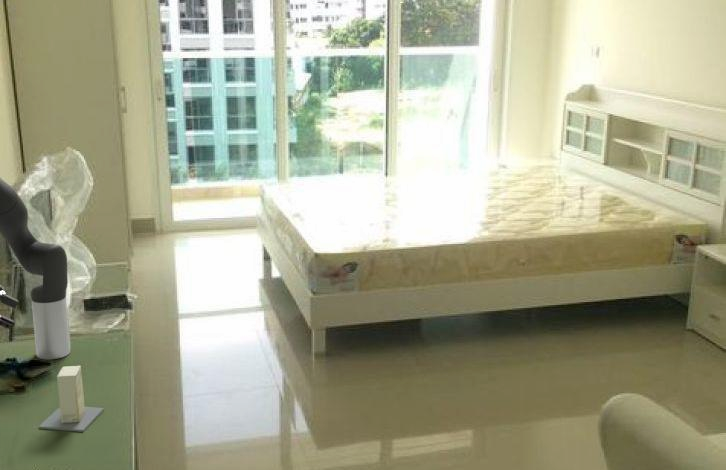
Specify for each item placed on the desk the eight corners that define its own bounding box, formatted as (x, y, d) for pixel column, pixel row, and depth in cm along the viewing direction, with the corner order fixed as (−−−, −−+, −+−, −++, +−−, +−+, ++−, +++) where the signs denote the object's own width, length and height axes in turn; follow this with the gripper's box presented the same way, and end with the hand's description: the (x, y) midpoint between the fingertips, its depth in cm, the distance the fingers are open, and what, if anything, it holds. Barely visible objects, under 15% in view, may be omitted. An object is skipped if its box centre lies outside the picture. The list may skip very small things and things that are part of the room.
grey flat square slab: (62, 406, 188) (61, 404, 188) (104, 409, 187) (103, 408, 187) (38, 428, 177) (38, 426, 177) (83, 431, 176) (83, 429, 176)
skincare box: (79, 422, 179) (76, 376, 176) (60, 423, 178) (56, 376, 175) (85, 410, 185) (81, 364, 182) (66, 411, 185) (62, 365, 182)
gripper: (-47, 291, 168) (21, 322, 177) (-37, 257, 179) (26, 287, 188) (-65, 314, 170) (3, 343, 178) (-54, 279, 181) (9, 308, 190)
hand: (15, 314), depth 183 cm, fingers open, 8 cm apart
